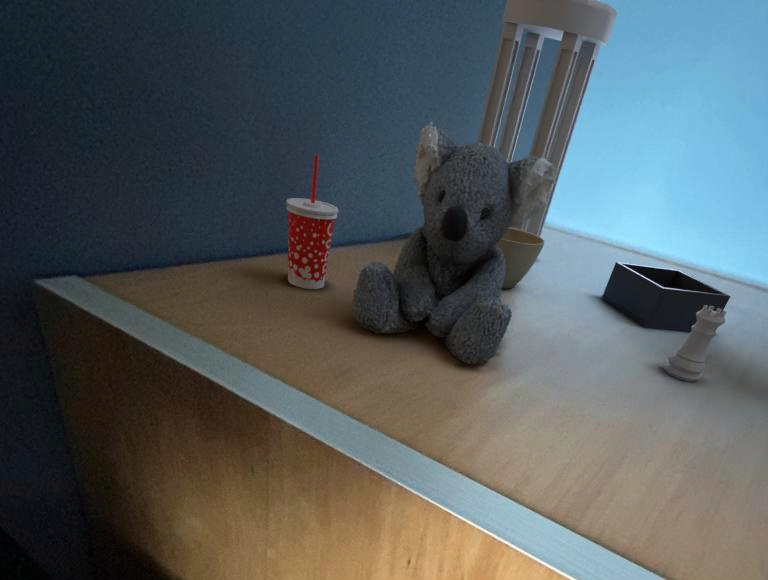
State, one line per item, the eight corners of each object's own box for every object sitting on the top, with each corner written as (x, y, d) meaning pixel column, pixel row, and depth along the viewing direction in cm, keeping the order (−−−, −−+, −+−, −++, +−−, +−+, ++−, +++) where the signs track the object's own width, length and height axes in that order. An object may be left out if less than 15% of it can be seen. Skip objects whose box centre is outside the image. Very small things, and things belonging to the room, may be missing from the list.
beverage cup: (311, 294, 69) (323, 162, 60) (271, 279, 71) (277, 148, 62) (339, 285, 73) (354, 161, 65) (301, 271, 75) (310, 149, 67)
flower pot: (483, 269, 93) (496, 221, 89) (538, 288, 89) (554, 240, 85) (454, 277, 86) (466, 226, 82) (512, 298, 82) (528, 246, 78)
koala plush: (339, 327, 62) (366, 112, 50) (396, 290, 76) (428, 115, 64) (489, 375, 59) (557, 157, 47) (520, 328, 73) (578, 150, 61)
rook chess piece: (700, 386, 67) (738, 320, 62) (662, 375, 68) (696, 308, 63) (697, 373, 71) (732, 309, 66) (661, 363, 71) (693, 299, 66)
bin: (662, 304, 95) (678, 270, 92) (710, 333, 86) (730, 296, 83) (601, 297, 92) (615, 261, 88) (644, 327, 83) (662, 288, 79)
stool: (516, 272, 95) (600, -5, 74) (437, 246, 100) (494, -20, 79) (547, 261, 106) (627, 16, 85) (474, 237, 111) (533, 2, 90)
